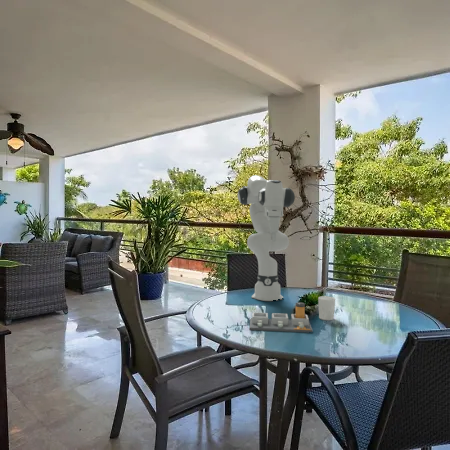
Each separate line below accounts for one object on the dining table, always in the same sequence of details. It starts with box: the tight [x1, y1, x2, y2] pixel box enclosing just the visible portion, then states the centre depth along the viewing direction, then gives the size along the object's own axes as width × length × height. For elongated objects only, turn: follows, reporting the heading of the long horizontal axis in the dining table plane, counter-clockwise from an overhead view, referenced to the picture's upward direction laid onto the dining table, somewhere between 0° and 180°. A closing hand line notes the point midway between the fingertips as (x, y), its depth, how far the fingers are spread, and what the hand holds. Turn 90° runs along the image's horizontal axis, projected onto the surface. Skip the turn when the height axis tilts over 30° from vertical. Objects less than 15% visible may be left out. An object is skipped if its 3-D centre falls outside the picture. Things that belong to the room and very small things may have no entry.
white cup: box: [317, 295, 336, 321], centre depth 174 cm, size 8×8×10 cm
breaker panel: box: [248, 311, 314, 333], centre depth 161 cm, size 14×27×4 cm, turn 84°
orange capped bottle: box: [295, 301, 306, 318], centre depth 163 cm, size 4×4×9 cm
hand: (273, 240), depth 177 cm, fingers open, 8 cm apart
